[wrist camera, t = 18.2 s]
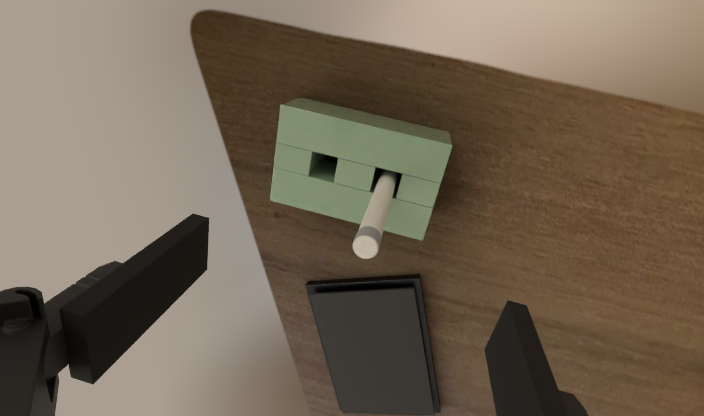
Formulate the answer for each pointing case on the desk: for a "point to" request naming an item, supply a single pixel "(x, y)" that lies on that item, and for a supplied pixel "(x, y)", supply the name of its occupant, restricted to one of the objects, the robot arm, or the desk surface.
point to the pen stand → (357, 164)
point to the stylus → (375, 217)
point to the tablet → (384, 283)
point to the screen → (375, 350)
